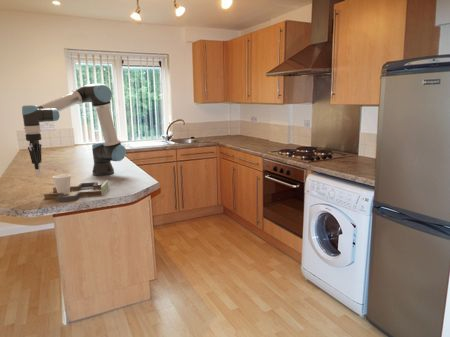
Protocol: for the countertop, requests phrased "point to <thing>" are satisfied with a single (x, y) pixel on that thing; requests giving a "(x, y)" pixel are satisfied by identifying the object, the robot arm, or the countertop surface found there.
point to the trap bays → (77, 196)
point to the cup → (62, 183)
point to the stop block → (104, 187)
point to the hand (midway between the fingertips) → (38, 174)
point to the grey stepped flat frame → (75, 188)
